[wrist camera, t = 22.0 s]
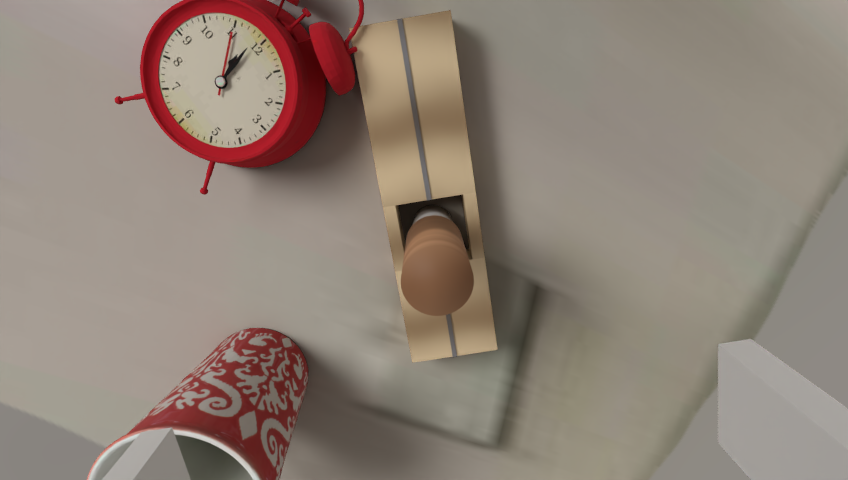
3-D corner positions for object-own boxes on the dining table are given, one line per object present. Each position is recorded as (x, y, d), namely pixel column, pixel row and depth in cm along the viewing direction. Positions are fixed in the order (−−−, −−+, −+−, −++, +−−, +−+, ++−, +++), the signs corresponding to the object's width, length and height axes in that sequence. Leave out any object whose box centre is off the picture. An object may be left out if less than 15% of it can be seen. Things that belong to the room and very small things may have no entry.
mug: (248, 290, 36) (150, 395, 23) (345, 364, 37) (305, 503, 24) (151, 404, 38) (11, 559, 25) (246, 470, 40) (160, 647, 27)
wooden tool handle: (404, 205, 34) (394, 253, 23) (452, 196, 34) (467, 240, 22) (413, 251, 35) (407, 321, 23) (460, 243, 35) (479, 309, 23)
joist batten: (354, 34, 31) (348, 27, 29) (448, 17, 31) (450, 9, 29) (413, 345, 37) (412, 363, 34) (492, 333, 37) (497, 350, 34)
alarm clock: (83, 85, 29) (229, -137, 22) (158, 74, 34) (292, -106, 28) (212, 220, 30) (381, 50, 24) (263, 189, 36) (412, 44, 30)
